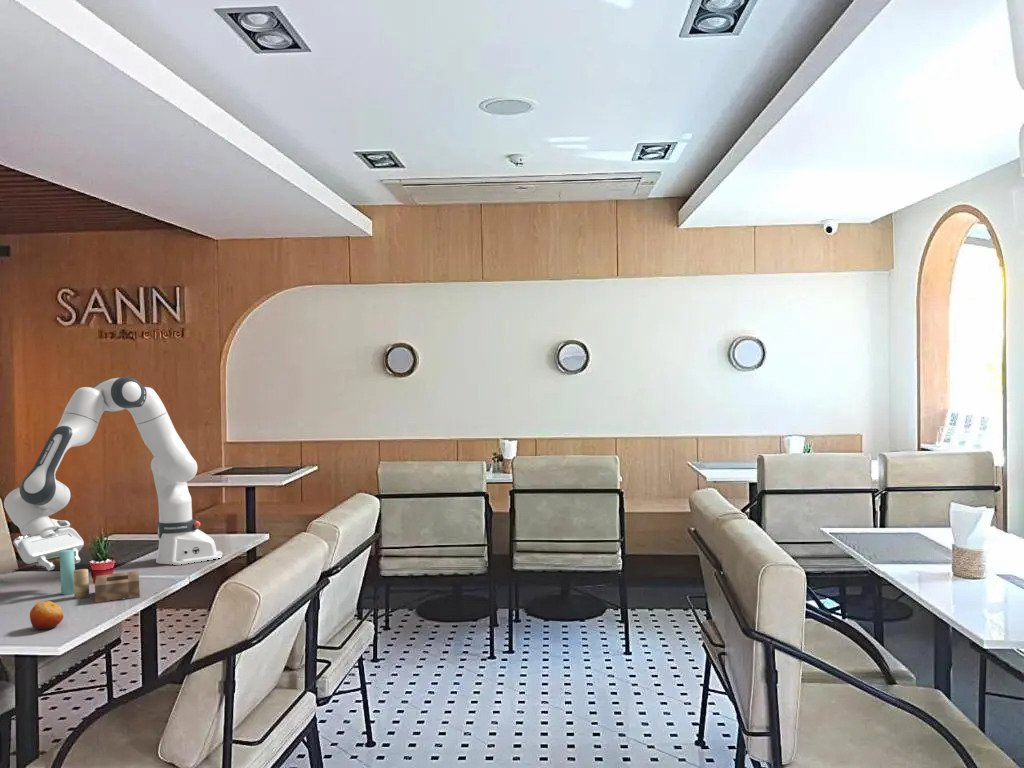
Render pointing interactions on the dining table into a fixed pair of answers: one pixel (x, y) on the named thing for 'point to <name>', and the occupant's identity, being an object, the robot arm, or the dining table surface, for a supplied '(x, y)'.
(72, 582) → the long pin
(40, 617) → the fruit
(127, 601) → the dining table surface
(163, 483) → the robot arm
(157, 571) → the dining table surface
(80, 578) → the short pin
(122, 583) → the hole block
